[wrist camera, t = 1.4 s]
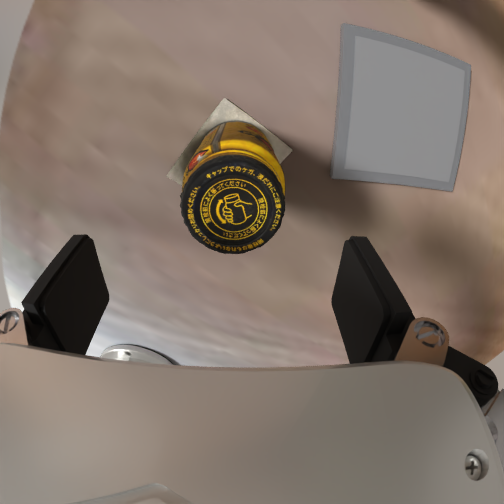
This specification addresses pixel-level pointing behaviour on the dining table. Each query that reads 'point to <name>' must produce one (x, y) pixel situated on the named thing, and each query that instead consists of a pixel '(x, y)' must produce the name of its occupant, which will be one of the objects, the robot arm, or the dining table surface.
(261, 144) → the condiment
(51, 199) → the dining table surface
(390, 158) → the plate
